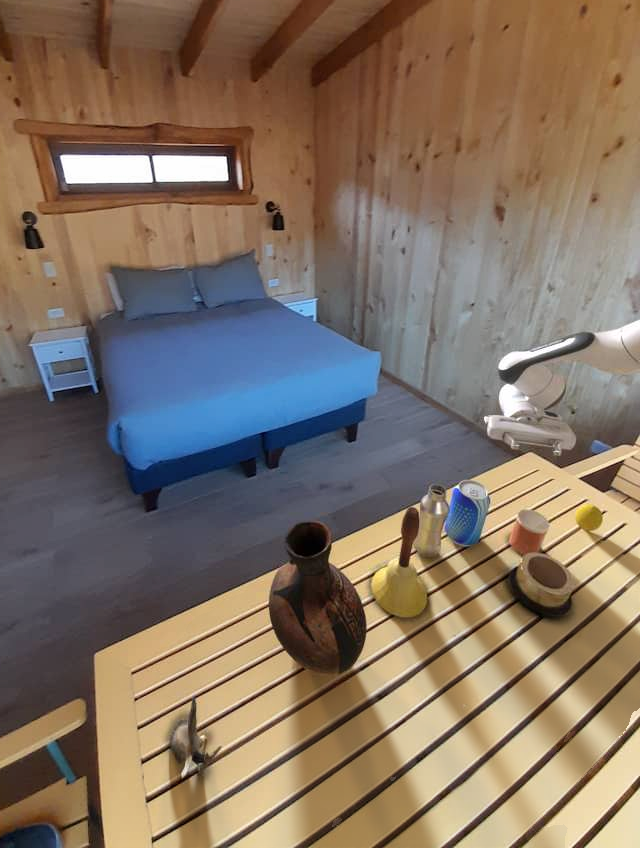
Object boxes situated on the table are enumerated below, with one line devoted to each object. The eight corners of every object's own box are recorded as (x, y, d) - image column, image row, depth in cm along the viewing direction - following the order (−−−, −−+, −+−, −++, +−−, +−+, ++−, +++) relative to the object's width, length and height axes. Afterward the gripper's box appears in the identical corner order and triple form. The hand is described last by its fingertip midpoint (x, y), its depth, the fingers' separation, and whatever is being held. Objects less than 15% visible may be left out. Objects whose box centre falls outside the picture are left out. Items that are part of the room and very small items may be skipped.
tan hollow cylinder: (560, 575, 93) (570, 554, 90) (578, 626, 83) (589, 604, 80) (503, 563, 97) (510, 541, 93) (514, 610, 86) (522, 588, 83)
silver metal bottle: (419, 534, 105) (430, 475, 96) (444, 549, 100) (458, 489, 91) (406, 549, 101) (417, 489, 92) (431, 566, 96) (445, 505, 87)
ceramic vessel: (383, 668, 77) (401, 564, 64) (305, 722, 70) (307, 618, 56) (322, 580, 94) (326, 483, 80) (254, 616, 86) (246, 516, 73)
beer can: (436, 528, 106) (447, 483, 99) (460, 518, 109) (472, 473, 102) (461, 553, 99) (474, 506, 92) (486, 542, 102) (500, 495, 95)
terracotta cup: (535, 537, 103) (545, 512, 99) (542, 559, 97) (553, 533, 93) (506, 532, 105) (514, 506, 101) (511, 553, 99) (521, 527, 95)
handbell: (389, 556, 99) (401, 479, 88) (437, 590, 91) (457, 510, 80) (360, 590, 91) (369, 510, 80) (409, 629, 83) (427, 547, 72)
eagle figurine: (232, 741, 67) (202, 690, 72) (213, 752, 61) (182, 696, 66) (200, 782, 65) (172, 727, 71) (177, 797, 60) (148, 737, 65)
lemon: (571, 517, 109) (580, 495, 105) (596, 526, 106) (607, 504, 102) (570, 530, 105) (580, 508, 101) (596, 540, 102) (607, 518, 98)
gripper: (485, 405, 114) (493, 433, 102) (568, 415, 108) (586, 446, 97) (481, 424, 117) (488, 453, 105) (561, 434, 111) (578, 467, 99)
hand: (536, 450), depth 101 cm, fingers open, 8 cm apart
